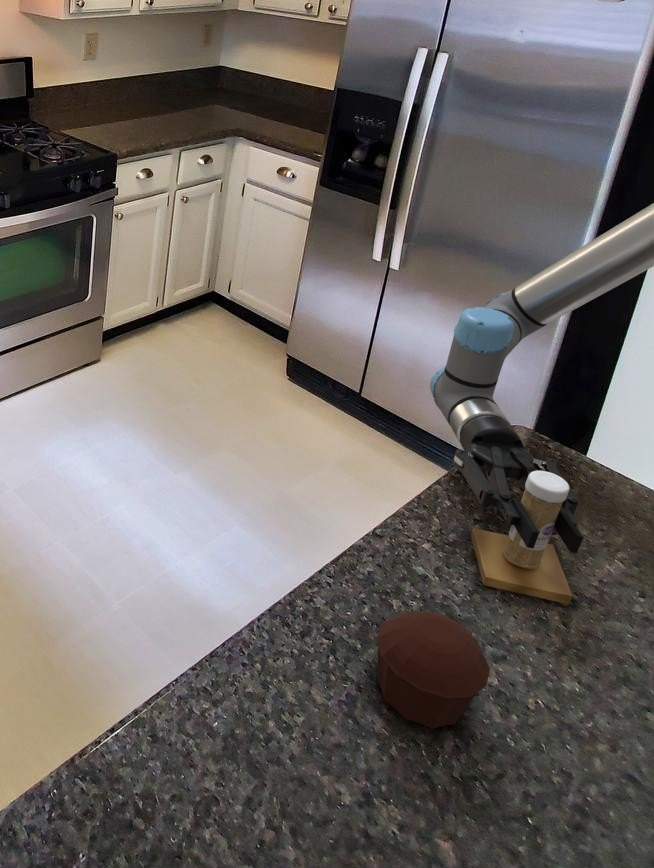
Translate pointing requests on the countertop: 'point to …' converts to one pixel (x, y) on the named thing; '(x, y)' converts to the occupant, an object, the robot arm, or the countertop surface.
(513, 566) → the cutting board
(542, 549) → the sprinkles bottle
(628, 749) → the countertop surface
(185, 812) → the countertop surface
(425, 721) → the muffin
